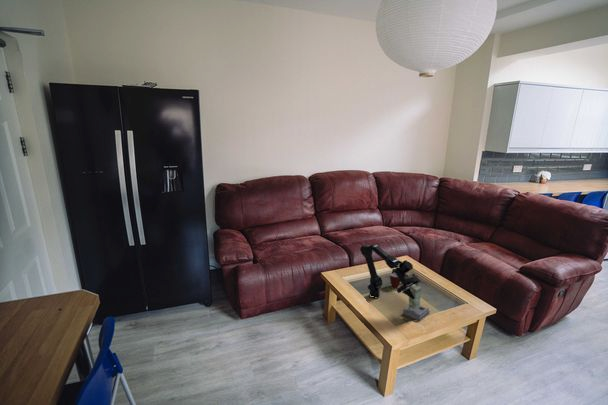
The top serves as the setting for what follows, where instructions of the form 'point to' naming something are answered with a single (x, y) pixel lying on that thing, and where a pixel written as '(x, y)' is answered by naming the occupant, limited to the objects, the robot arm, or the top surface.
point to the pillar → (417, 294)
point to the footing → (416, 312)
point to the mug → (394, 280)
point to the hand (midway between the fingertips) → (416, 297)
